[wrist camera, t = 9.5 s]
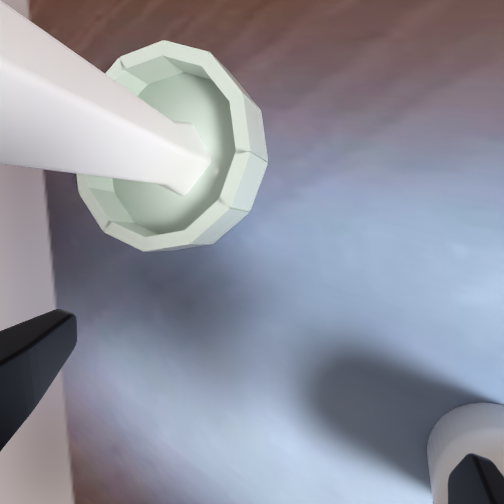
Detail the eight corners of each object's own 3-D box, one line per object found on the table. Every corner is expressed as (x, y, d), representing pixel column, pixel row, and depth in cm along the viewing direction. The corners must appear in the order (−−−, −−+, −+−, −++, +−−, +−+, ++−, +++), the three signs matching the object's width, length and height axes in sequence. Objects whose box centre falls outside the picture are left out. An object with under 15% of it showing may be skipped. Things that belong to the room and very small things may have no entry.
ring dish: (277, 233, 20) (261, 232, 18) (118, 259, 23) (86, 260, 21) (251, 40, 20) (232, 14, 18) (97, 94, 24) (64, 77, 21)
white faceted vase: (149, 211, 22) (-295, 156, 8) (136, 135, 22) (-321, -53, 8) (223, 192, 20) (-166, 78, 6) (208, 109, 21) (-203, -180, 6)
